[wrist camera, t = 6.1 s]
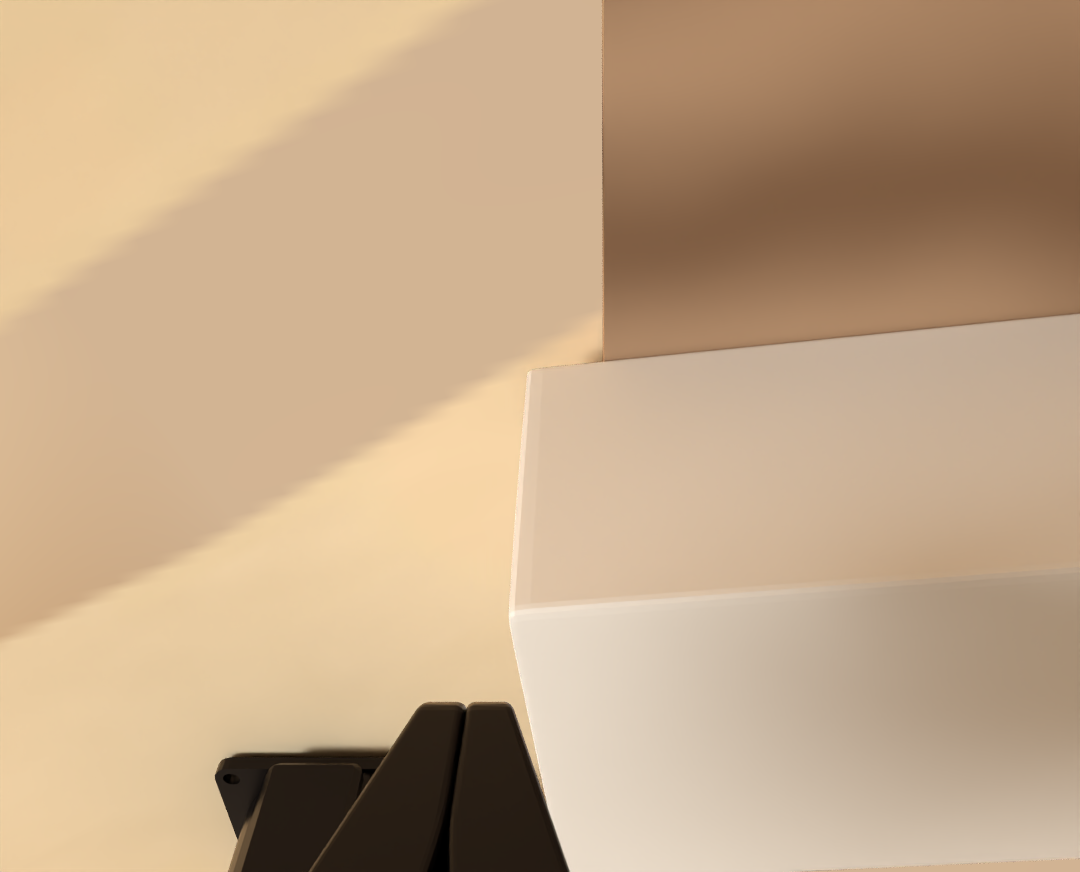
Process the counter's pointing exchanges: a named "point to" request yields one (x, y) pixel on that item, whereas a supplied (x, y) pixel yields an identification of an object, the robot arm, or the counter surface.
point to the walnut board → (835, 168)
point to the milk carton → (806, 602)
